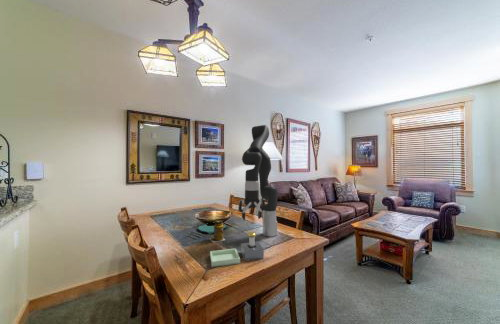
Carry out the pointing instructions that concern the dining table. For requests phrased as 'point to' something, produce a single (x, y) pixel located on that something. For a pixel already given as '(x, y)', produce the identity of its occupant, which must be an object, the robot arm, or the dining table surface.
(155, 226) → the dining table surface
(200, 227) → the cutlery set
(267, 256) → the dining table surface
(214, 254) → the tray
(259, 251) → the socket block
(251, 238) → the pin
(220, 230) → the condiment
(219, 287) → the dining table surface
